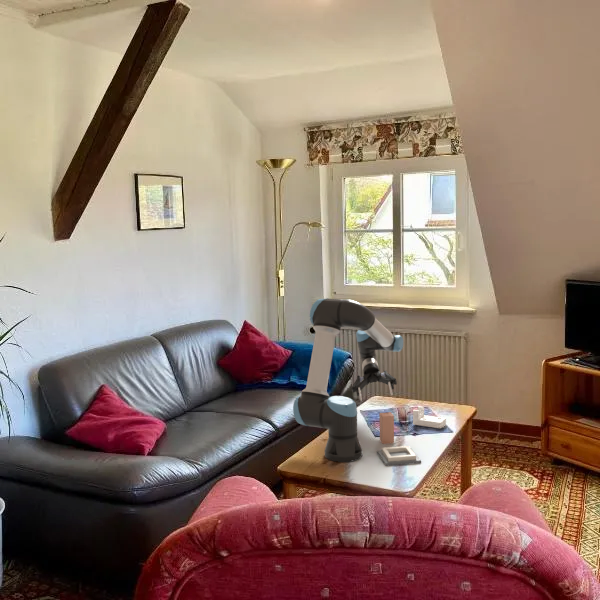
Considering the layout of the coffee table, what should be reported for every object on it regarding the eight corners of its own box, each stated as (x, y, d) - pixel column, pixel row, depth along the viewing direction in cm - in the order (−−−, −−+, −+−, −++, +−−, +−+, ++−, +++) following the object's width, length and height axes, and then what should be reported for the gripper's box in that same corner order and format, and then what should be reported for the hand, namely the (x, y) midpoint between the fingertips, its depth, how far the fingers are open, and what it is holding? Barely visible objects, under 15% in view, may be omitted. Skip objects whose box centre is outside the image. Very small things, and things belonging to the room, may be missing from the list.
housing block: (382, 444, 281) (382, 416, 279) (379, 440, 286) (379, 412, 284) (394, 443, 281) (393, 415, 280) (391, 439, 286) (390, 412, 284)
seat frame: (385, 465, 257) (385, 459, 257) (377, 452, 271) (377, 446, 270) (421, 462, 259) (420, 456, 258) (410, 450, 272) (410, 444, 272)
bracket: (413, 426, 302) (412, 410, 301) (418, 421, 308) (418, 406, 307) (440, 430, 296) (440, 413, 295) (445, 425, 302) (445, 409, 301)
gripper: (398, 371, 311) (405, 397, 292) (346, 381, 314) (349, 407, 295) (396, 357, 308) (403, 383, 289) (343, 367, 310) (346, 393, 291)
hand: (376, 395), depth 292 cm, fingers open, 13 cm apart
